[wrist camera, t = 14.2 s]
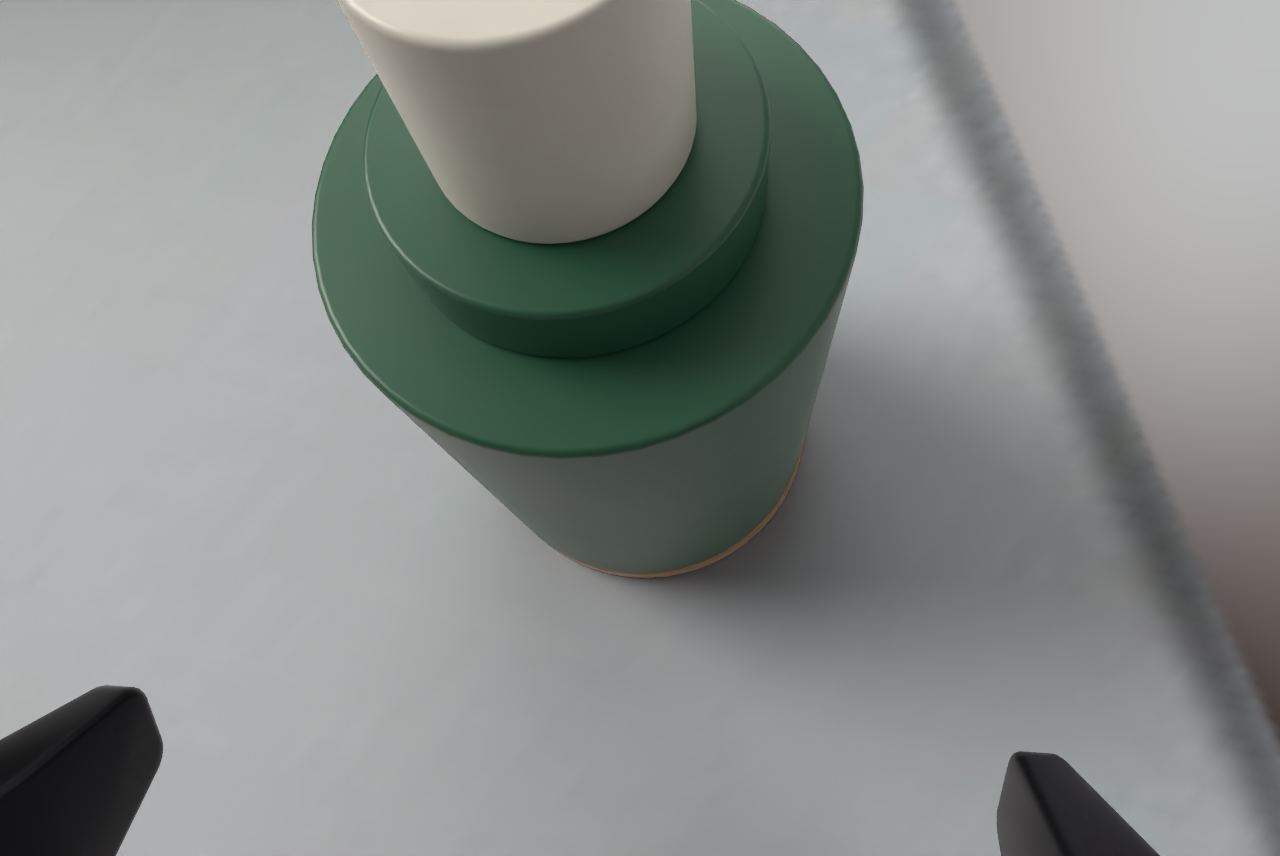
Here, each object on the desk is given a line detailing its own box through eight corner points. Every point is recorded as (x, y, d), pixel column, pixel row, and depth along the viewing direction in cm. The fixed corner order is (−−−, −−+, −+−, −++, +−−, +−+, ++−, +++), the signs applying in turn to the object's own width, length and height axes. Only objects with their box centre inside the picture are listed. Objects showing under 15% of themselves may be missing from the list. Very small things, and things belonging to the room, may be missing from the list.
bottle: (827, 556, 15) (1047, 213, 5) (494, 590, 15) (17, 344, 5) (779, 257, 17) (862, -454, 7) (484, 294, 17) (124, -324, 7)
